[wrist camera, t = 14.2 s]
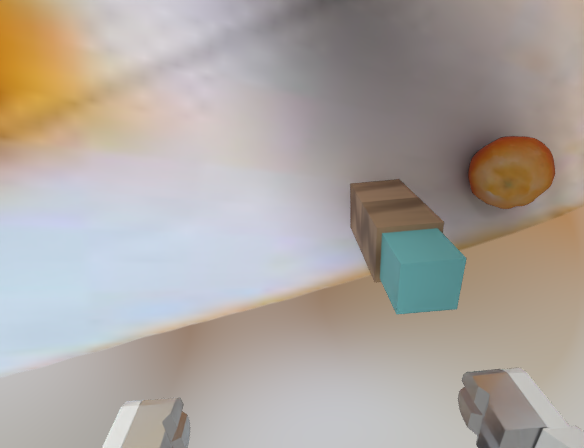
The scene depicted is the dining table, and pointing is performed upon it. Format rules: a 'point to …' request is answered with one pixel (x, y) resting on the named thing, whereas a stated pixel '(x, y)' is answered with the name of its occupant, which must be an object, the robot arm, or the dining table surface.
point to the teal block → (421, 271)
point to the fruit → (511, 171)
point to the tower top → (391, 225)
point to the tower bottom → (373, 198)
